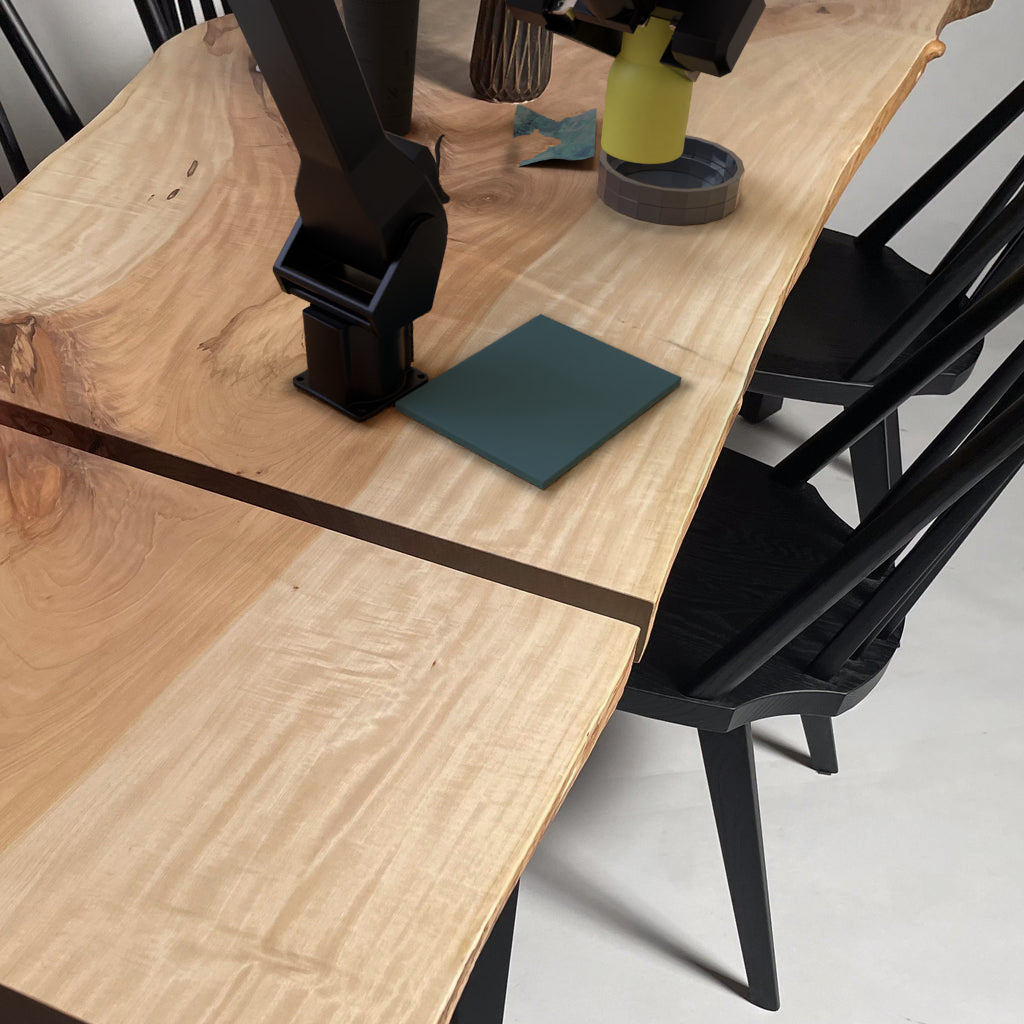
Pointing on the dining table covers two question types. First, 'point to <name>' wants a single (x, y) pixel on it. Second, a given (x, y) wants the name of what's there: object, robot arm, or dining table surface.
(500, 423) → the mat
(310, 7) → the robot arm
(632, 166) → the bowl
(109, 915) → the dining table surface
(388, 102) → the drinking cup
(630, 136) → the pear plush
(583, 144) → the teal flat jagged piece
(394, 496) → the dining table surface
